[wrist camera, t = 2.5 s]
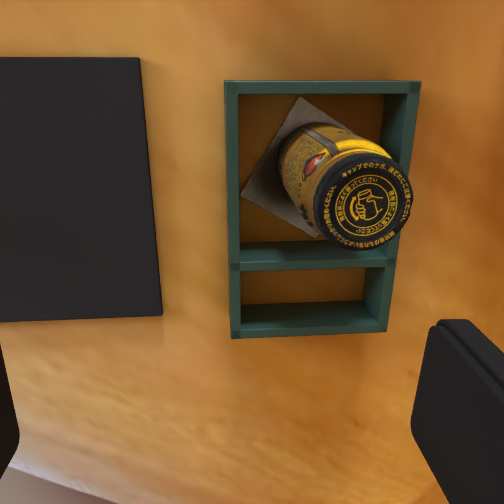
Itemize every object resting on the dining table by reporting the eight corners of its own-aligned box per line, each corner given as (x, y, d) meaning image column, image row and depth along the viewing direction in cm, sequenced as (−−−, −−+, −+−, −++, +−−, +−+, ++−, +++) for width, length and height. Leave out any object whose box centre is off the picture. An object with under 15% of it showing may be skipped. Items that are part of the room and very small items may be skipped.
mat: (-108, 57, 28) (-114, 56, 28) (140, 57, 29) (138, 57, 29) (-32, 320, 36) (-35, 324, 35) (163, 312, 37) (162, 316, 36)
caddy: (223, 80, 30) (225, 81, 27) (397, 80, 31) (421, 81, 28) (229, 313, 38) (230, 339, 34) (370, 307, 38) (386, 332, 35)
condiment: (377, 148, 33) (458, 185, 22) (315, 237, 35) (359, 311, 24) (298, 95, 31) (344, 107, 20) (239, 194, 34) (250, 252, 22)
